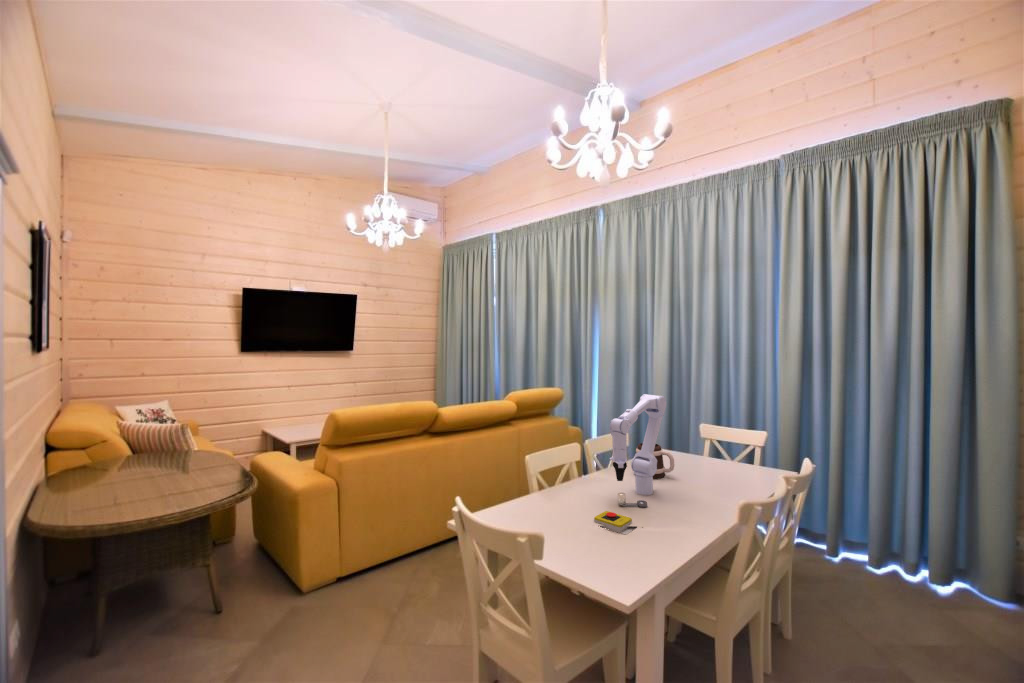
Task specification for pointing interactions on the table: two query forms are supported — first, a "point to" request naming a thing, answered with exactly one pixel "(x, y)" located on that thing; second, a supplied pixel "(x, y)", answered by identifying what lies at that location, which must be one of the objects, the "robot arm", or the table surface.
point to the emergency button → (615, 522)
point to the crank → (623, 502)
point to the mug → (660, 460)
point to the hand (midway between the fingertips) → (619, 480)
